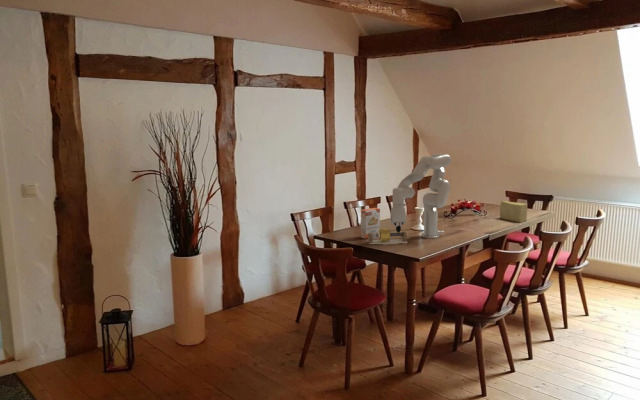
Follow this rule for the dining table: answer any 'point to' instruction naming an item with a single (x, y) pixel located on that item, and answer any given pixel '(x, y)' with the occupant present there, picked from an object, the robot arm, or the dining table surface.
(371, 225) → the cracker box
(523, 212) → the cheese
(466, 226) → the dining table surface
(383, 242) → the cord rail
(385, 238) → the yellow block
